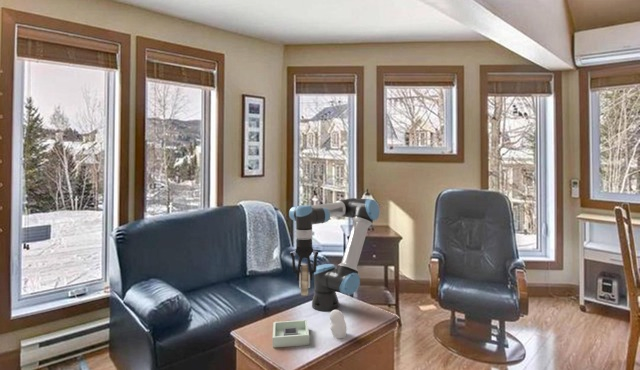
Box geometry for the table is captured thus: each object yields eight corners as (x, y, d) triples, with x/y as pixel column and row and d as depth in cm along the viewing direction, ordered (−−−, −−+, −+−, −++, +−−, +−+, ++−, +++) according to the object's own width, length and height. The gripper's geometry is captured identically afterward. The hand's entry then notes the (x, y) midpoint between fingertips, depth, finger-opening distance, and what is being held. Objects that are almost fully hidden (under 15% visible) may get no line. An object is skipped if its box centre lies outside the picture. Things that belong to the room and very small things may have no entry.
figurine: (330, 331, 173) (329, 307, 172) (346, 331, 173) (345, 306, 172) (330, 339, 166) (329, 313, 165) (346, 338, 166) (346, 313, 165)
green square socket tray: (273, 331, 175) (273, 321, 175) (307, 328, 177) (306, 319, 177) (272, 347, 160) (272, 337, 159) (309, 344, 161) (309, 335, 161)
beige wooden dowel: (300, 293, 175) (300, 264, 175) (308, 293, 175) (308, 264, 175) (301, 296, 171) (300, 266, 171) (308, 295, 172) (308, 266, 171)
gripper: (286, 240, 168) (287, 290, 169) (322, 239, 170) (322, 289, 170) (286, 237, 175) (286, 285, 176) (320, 236, 177) (321, 284, 178)
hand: (304, 287), depth 173 cm, fingers closed on beige wooden dowel, 3 cm apart
